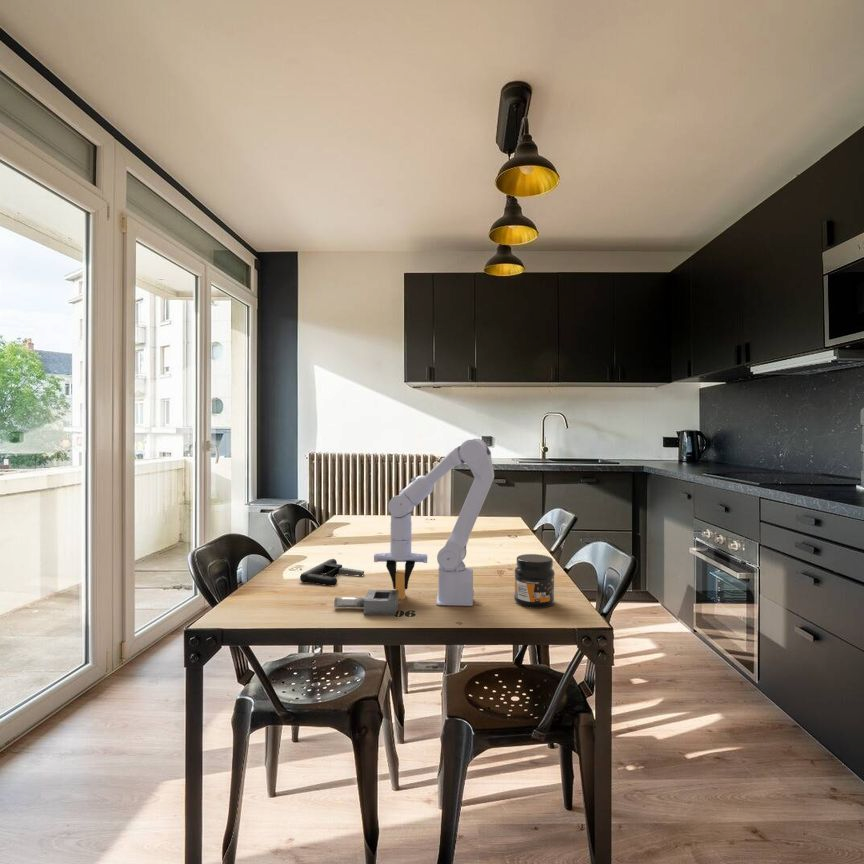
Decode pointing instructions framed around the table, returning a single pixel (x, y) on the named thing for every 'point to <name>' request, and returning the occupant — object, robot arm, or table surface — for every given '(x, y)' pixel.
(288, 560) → the table surface
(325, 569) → the door handle
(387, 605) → the grey peg hole fixture
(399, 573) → the tall orange cuboid
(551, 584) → the supplement container
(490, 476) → the robot arm
